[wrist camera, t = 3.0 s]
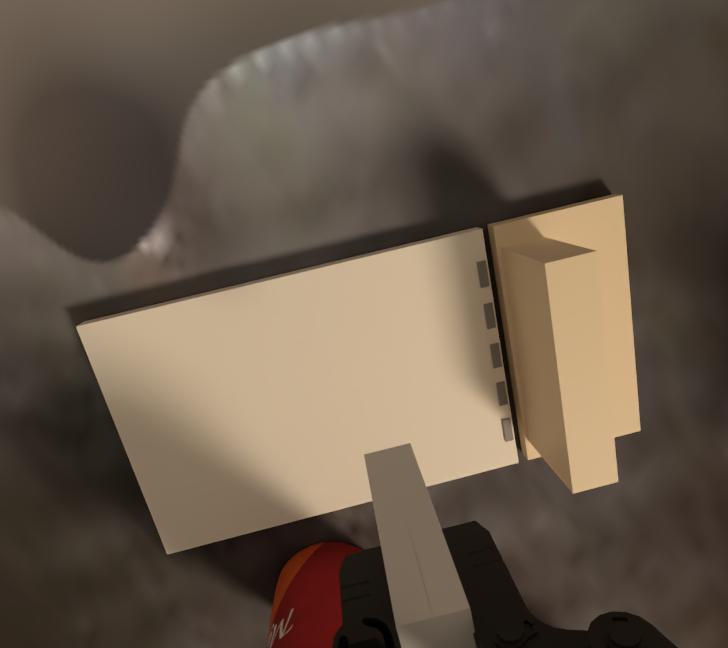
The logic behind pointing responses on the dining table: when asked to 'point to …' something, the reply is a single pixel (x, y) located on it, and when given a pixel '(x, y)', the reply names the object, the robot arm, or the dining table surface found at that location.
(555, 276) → the stub
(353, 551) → the paper cup
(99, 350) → the ticket
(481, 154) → the dining table surface
